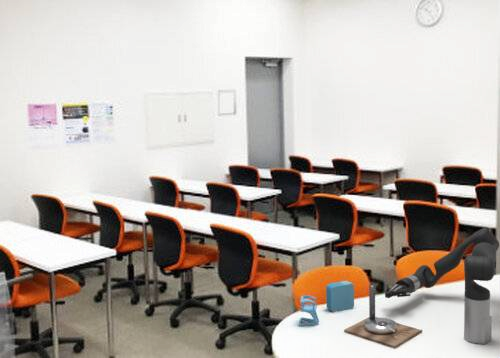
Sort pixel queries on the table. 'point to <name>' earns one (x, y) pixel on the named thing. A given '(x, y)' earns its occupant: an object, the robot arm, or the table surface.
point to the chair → (309, 311)
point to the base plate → (389, 340)
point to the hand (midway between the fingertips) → (386, 295)
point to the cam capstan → (378, 323)
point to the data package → (340, 296)
